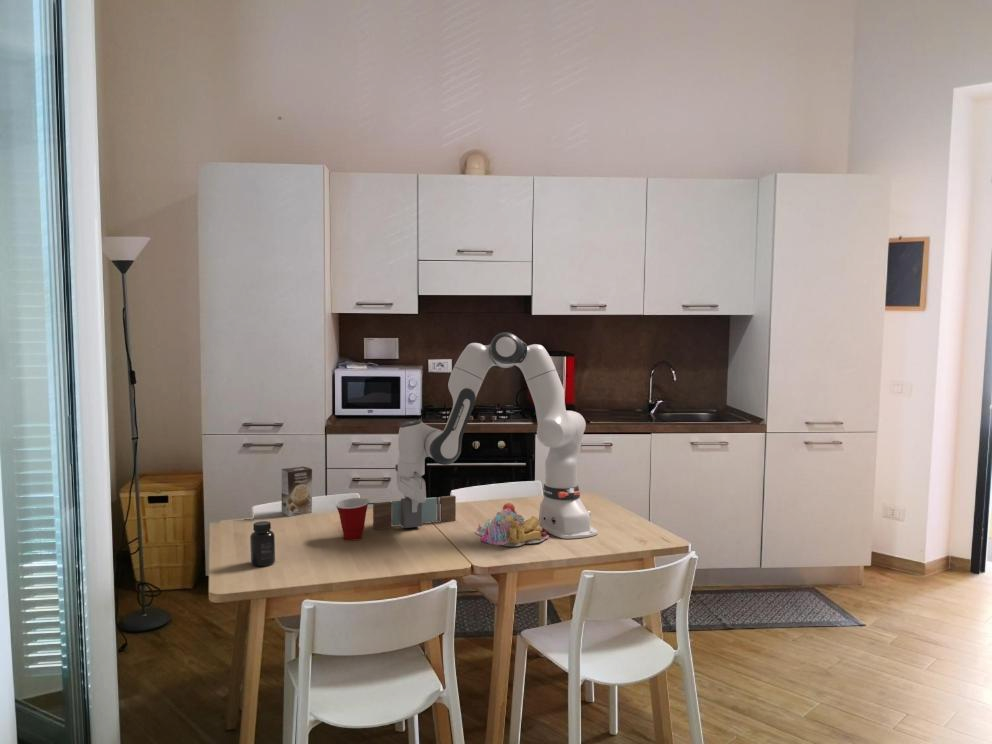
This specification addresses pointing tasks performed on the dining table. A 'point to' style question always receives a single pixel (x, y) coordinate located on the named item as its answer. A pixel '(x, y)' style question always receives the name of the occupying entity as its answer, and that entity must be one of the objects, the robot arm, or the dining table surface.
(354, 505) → the plastic cup
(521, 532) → the candy landscape model
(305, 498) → the coffee box
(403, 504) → the block
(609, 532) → the dining table surface
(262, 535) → the supplement bottle
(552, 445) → the robot arm
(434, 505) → the door
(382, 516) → the wooden blocks
